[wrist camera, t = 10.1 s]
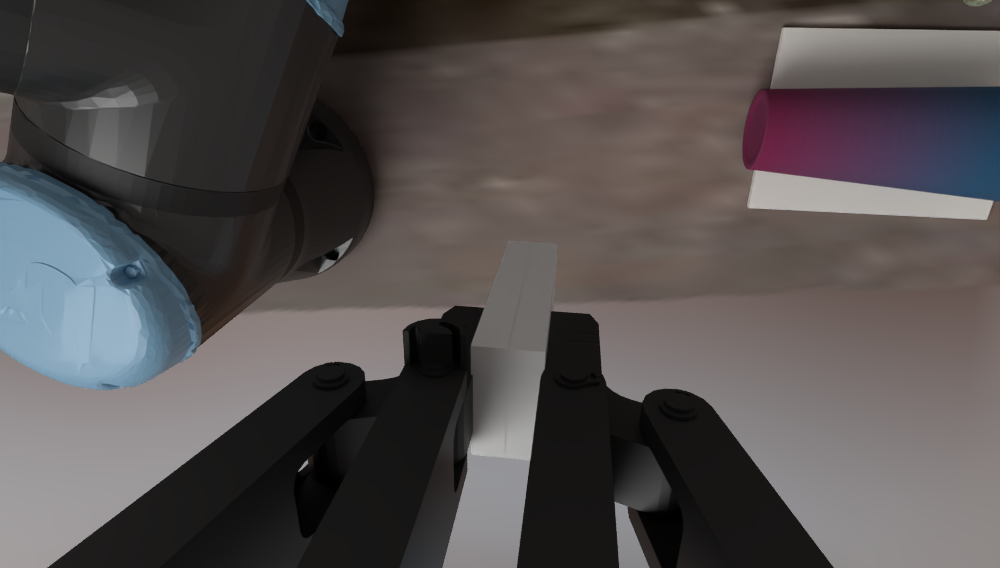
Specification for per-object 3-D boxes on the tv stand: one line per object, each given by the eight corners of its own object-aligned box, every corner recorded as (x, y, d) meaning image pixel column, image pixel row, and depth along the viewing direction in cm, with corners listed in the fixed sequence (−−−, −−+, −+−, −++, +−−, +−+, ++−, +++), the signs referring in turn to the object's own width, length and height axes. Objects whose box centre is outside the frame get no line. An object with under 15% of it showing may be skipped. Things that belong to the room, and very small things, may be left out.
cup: (748, 203, 36) (1007, 223, 34) (781, 100, 32) (1082, 115, 30) (733, 152, 41) (957, 167, 39) (760, 57, 37) (1015, 68, 35)
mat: (746, 206, 42) (748, 207, 41) (781, 27, 37) (783, 27, 37) (982, 218, 40) (986, 219, 39) (1051, 31, 35) (1056, 31, 35)
